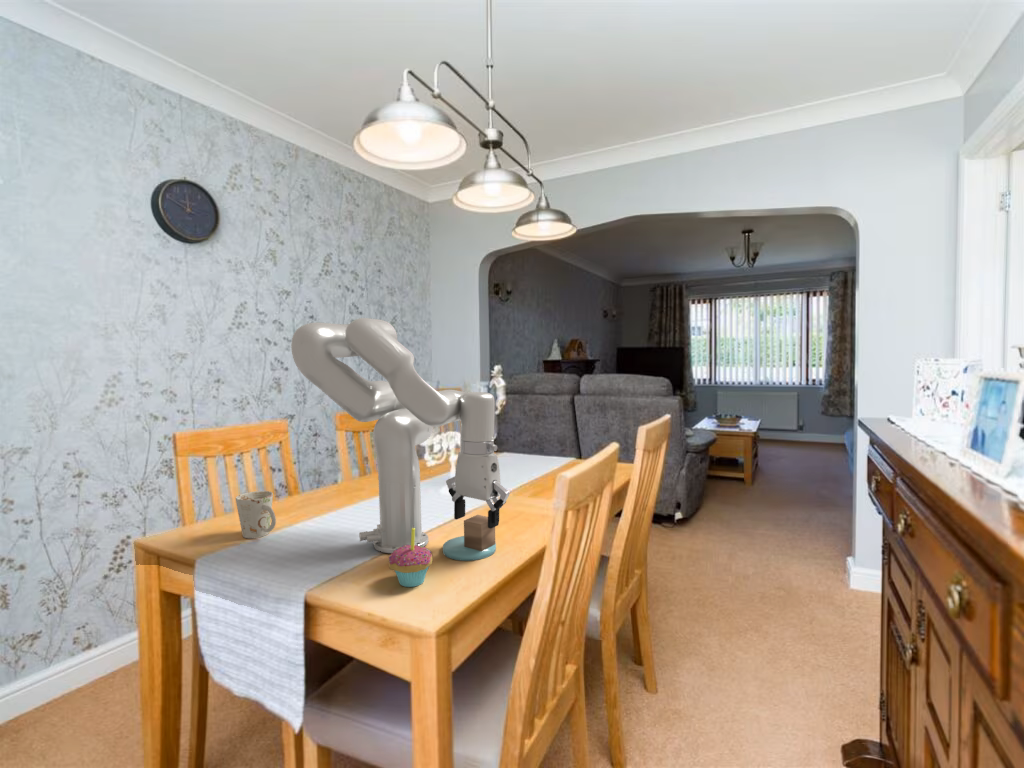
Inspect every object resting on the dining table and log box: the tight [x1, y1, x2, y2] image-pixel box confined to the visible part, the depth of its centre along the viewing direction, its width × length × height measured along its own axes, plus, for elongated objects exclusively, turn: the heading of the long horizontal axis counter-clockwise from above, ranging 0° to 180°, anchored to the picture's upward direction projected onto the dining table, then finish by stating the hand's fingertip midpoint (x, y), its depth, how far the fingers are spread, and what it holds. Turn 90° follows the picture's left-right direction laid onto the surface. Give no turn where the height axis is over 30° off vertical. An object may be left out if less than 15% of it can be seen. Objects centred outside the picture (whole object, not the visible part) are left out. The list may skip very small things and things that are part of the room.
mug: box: [235, 490, 277, 539], centre depth 128 cm, size 8×13×10 cm, turn 60°
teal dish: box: [442, 535, 497, 562], centre depth 116 cm, size 12×12×1 cm
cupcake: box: [388, 525, 433, 588], centre depth 100 cm, size 9×8×12 cm
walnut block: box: [463, 514, 496, 551], centre depth 116 cm, size 5×5×6 cm
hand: (476, 522), depth 116 cm, fingers open, 9 cm apart
